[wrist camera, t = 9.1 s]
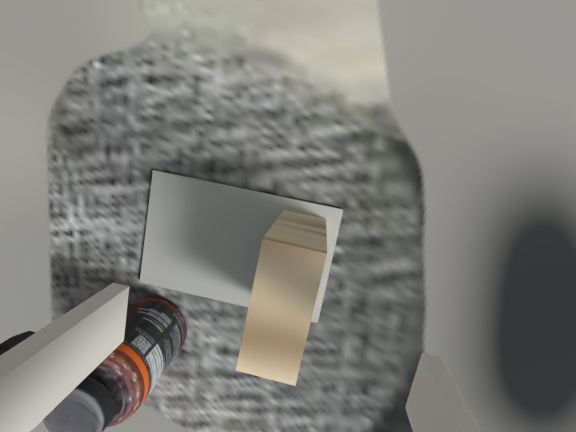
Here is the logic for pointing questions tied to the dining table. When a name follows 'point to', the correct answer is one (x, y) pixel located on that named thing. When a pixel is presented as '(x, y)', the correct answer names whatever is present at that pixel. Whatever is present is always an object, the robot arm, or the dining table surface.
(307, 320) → the small box
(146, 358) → the supplement bottle
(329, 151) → the dining table surface
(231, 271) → the grey mat
